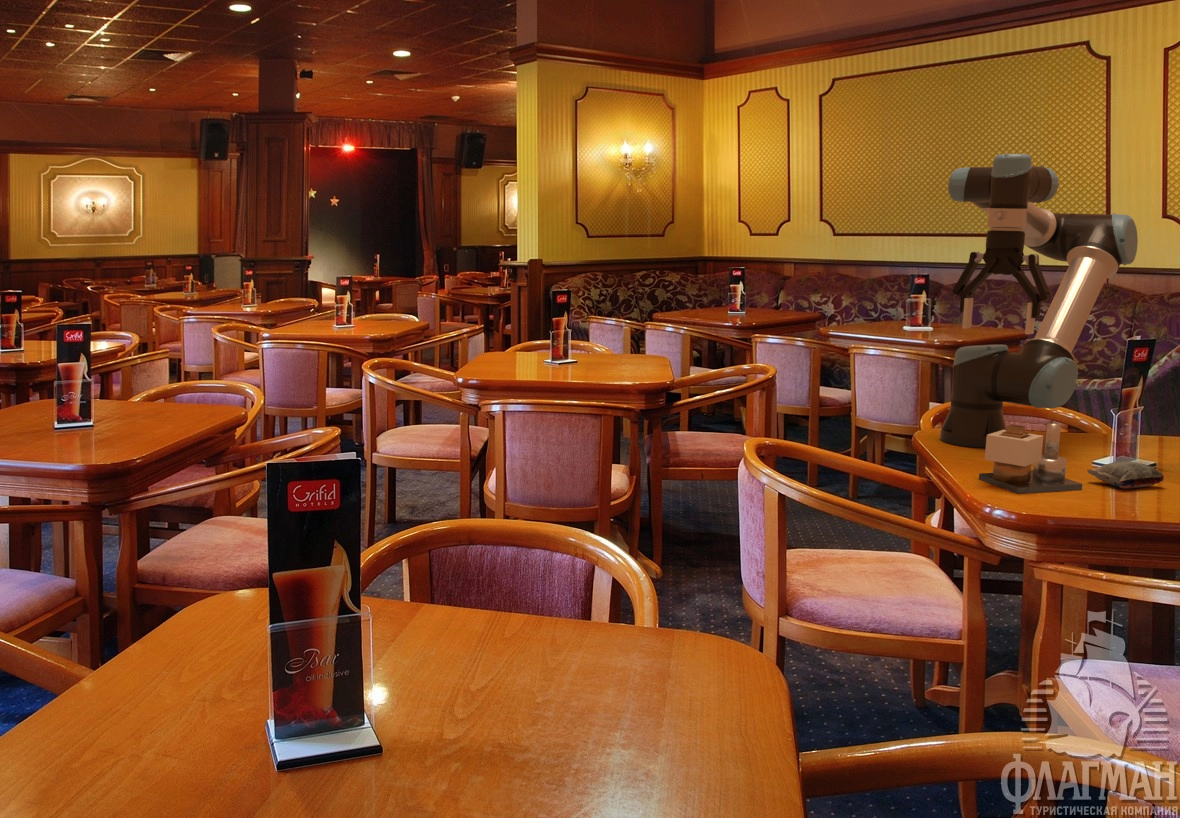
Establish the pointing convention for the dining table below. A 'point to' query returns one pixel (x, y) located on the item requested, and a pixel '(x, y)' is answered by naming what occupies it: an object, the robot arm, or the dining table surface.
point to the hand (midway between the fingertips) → (997, 331)
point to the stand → (1051, 457)
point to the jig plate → (1033, 484)
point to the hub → (1010, 471)
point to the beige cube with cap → (1013, 449)
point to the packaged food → (1127, 474)
